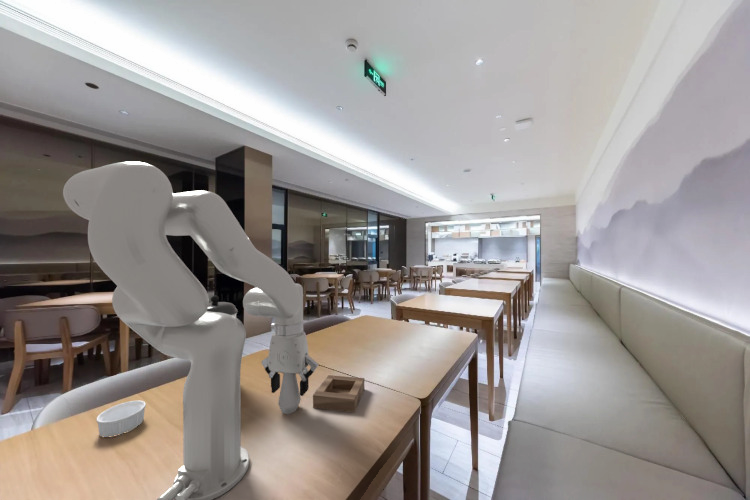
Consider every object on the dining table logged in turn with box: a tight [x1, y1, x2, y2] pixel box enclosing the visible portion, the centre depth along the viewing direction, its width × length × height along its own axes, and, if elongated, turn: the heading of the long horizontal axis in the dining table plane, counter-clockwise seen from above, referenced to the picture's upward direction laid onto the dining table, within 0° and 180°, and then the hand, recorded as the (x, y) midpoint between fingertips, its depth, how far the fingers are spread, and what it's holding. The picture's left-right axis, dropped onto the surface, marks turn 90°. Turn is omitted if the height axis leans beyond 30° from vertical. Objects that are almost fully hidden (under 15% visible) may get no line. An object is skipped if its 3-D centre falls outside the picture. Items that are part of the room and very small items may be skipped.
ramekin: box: [96, 399, 147, 438], centre depth 65 cm, size 9×9×4 cm
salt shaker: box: [277, 373, 302, 415], centre depth 72 cm, size 6×6×13 cm
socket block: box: [312, 374, 365, 413], centre depth 77 cm, size 12×12×4 cm
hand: (289, 391), depth 72 cm, fingers open, 7 cm apart
